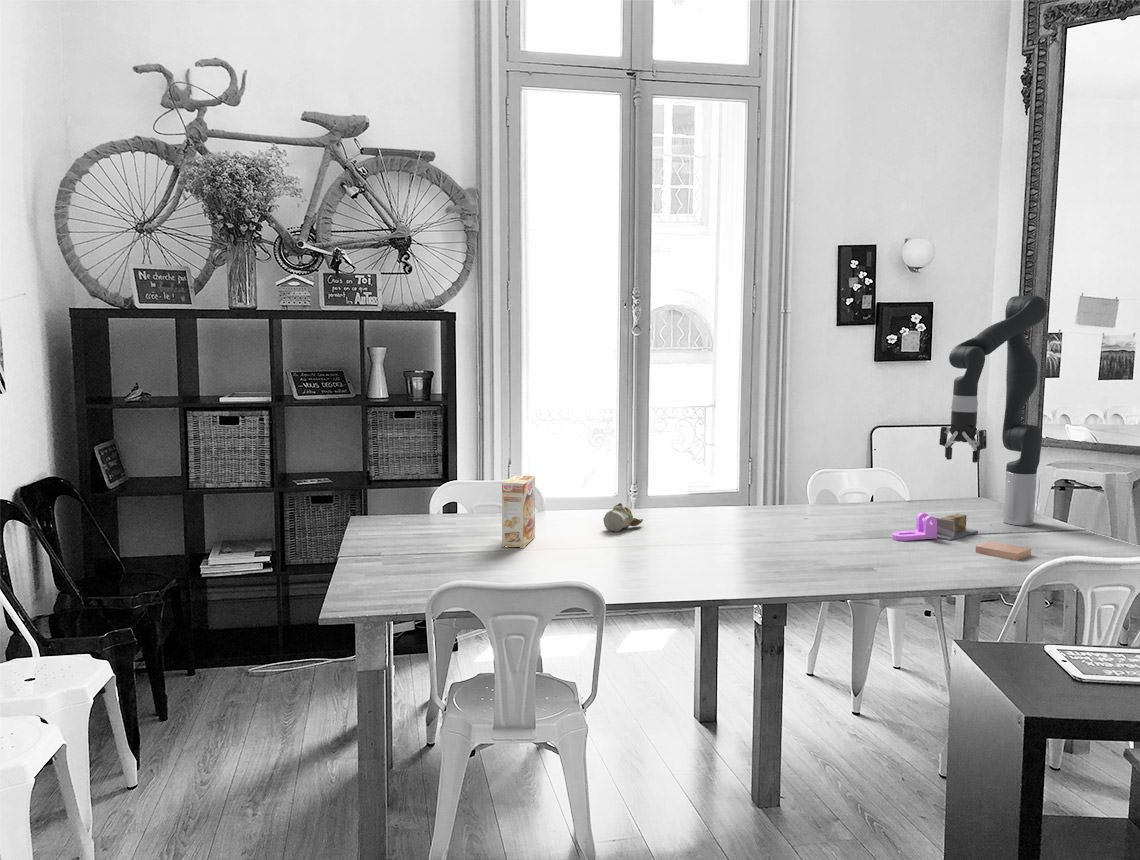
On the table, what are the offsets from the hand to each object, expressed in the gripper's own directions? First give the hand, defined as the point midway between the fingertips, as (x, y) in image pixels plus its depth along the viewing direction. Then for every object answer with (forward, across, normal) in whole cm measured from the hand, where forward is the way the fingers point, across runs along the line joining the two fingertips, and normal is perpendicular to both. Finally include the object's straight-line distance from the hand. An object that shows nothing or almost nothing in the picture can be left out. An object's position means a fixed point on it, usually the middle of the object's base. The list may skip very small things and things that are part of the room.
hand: (961, 460), depth 297 cm
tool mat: (+23, 0, +4) cm, 23 cm away
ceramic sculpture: (+24, +74, +79) cm, 110 cm away
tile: (+22, -22, +12) cm, 34 cm away
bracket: (+23, +5, +19) cm, 30 cm away
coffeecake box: (+23, +79, +116) cm, 142 cm away
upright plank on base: (+23, 0, +4) cm, 23 cm away
